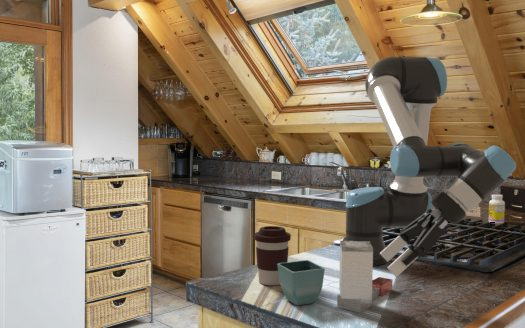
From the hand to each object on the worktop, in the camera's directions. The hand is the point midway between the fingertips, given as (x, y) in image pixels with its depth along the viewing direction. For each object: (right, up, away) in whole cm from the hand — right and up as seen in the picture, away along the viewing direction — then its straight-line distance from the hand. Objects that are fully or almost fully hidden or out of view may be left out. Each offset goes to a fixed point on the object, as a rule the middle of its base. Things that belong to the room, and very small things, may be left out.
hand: (387, 264), depth 121 cm
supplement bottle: (+79, -4, +118) cm, 142 cm away
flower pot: (-20, -10, +5) cm, 23 cm away
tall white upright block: (-7, -7, +1) cm, 10 cm away
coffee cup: (-27, -9, +21) cm, 35 cm away
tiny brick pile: (-3, -10, +7) cm, 13 cm away
